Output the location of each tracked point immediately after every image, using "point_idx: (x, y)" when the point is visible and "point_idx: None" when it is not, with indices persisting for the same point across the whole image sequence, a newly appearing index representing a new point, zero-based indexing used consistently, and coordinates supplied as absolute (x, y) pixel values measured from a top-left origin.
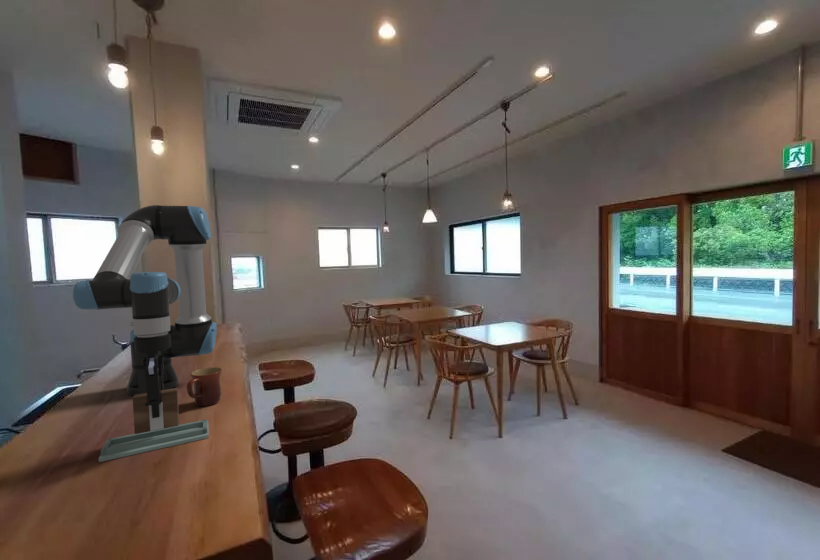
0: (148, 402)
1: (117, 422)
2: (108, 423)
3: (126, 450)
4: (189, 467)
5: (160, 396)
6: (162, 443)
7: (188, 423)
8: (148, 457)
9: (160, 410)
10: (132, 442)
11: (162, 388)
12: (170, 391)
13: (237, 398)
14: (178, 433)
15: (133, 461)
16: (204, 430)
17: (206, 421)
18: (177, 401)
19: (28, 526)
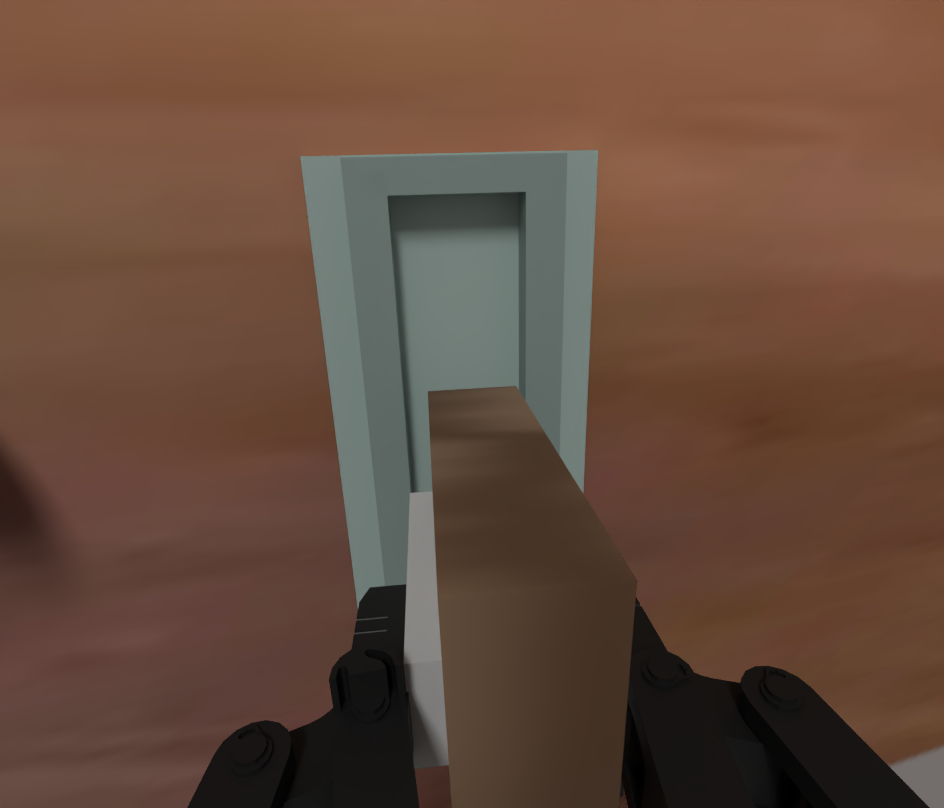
0: (802, 796)
1: (19, 748)
2: (22, 784)
3: None
4: (929, 259)
5: (721, 736)
6: (561, 446)
7: (369, 316)
8: (655, 485)
9: None
10: None
11: (387, 806)
12: (597, 665)
13: None
14: (540, 369)
15: (657, 543)
16: (562, 179)
17: (397, 163)
18: (525, 480)
19: (931, 718)
